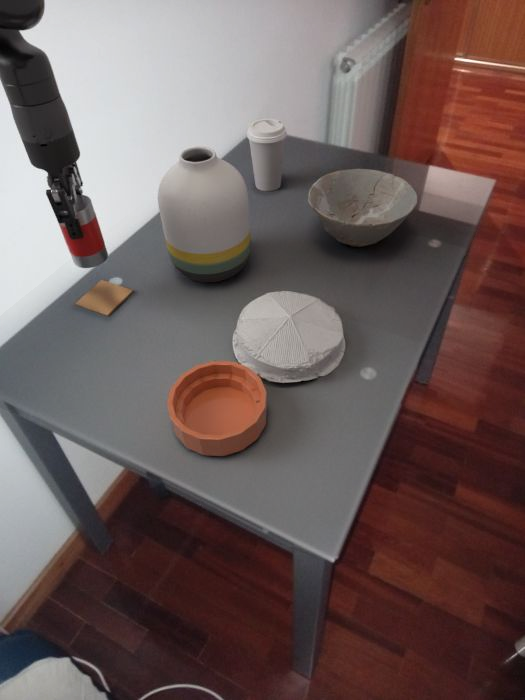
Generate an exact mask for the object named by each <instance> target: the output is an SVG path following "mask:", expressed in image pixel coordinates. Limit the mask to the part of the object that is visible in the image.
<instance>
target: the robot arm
mask: <svg viewBox="0 0 525 700" xmlns="http://www.w3.org/2000/svg"><path fill="white" fill-rule="evenodd" d="M45 9H46V0H0V83H1V85H2V88H3V90H4V93H5V96H6V98H7V101H8V103H9V107H10V110H11V115H12V117H13V118H12V119H13V121H14V124H15V126H16V129H17V131H18V134H19V136H20V137H19V138H20V139H21V141H22V144H23V147H24V150H25V152H26V154H27V157H28V160H29V162H30V164H31V166H33V167H34V168H36V169H39V170H41V171H44V172H46V173H47V176H46V182H47V186H48V187H49V189H46V190H45V195H46V197H47V199H48V202H49V204H50V206H51V209H52V211H53V213H54V216H55V218H56V220H57V223H58V225H59V224H61V223H65V226H66V228H67V231H68V234H69V236H70V238H71V239H82V238H83V236H84V233H83V230H82V228H81V225H80V222H79V219H78V214H77V211H76V206H75V205H76V204H77V202H78V201H77V196H76V195H84V190H83V188H82V187H83V185H84V182H83V180H82V177H81V173H80V170H79V167H78V160H79V159H80V156H81V150H80V147H79V144H78V141H77V138H76V135H75V134H76V133H75V131H74V128H73V125H72V121H71V119H70V116H69V111H68V109H67V106H66V104H65V101H64V100H63V98H62V95H61V92H60V89H59V86H58V82H57V80H56V76H55V73H54V70H53V67H52V63H51V61H50V58H49V57H48V55H47V54H46V52H45V51H44V50H42V49H41V48H39V47H37V46H36V45H33V44H32V43H30V42H29V41H27V40H26V39H25V38H24V36H23V34H22V33H21V31H28V30H32V29H34V28H35V27H37V25H38V24H40V22H41V21H42V19H43V17H44V14H45ZM68 196H71V199H70V200H68V198H67V197H68ZM64 211H67V212H68V213H64Z"/></svg>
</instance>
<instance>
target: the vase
mask: <svg viewBox="0 0 525 700" xmlns="http://www.w3.org/2000/svg"><path fill="white" fill-rule="evenodd" d="M248 192H249V191H248V187H247V185H246V181H245V180H244V177H243V175H242V174H241V173H240V171H239V170H238V169H237V168H236V167H234V166H233V164H231V163H229V162H228V161H226V160H224V159H221V158H220V157H218V155H217V153H216V150H215V149H213V148H211V147H209V146H200V145H199V146H192V147H188V148H186V149H184V150H183V151H181V152H180V154H179V161H177V162H176V163H175V164H173V165H172V166H171V167H170V168H169V169H168V170H167V171H166V172H165V173H164V174H163V176H162V178H161V180H160V183H159V185H158V191H157V203H158V211H159V216H160V220H161V225H162V230H163V236H164V240H165V244H166V249H167V252H168V256H169V259H170V261H171V263H172V265H173V266H174V269H175V270H176V271H178V272H179V274H180V275H182V276H184V277H185V278H187V279H188V280H192V281H195V282H201V283H216V282H221V281H225V280H227V279H230V278H231V277H234V276H235V275H237V274H239V272H241V270H242V269H244V267H245V266H246V264H247V262H248V259H249V257H250V254H251V246H252V245H251V241H252V239H251V220H250V219H251V218H250V201H249V199H250V198H249V193H248Z"/></svg>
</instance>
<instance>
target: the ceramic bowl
mask: <svg viewBox="0 0 525 700" xmlns="http://www.w3.org/2000/svg"><path fill="white" fill-rule="evenodd" d="M307 196H308V197H307V202H308V204H309V206H310V207H311V209H312V210H313V211H314V212H315V214H316V215H317V217H318V218H319V220H320V222H321V224H322V226H323V229H324V231H326V233H328V234H329V235H330V236H331V237H332V238H334V239H335V240H336V241H338V242H340V243H341V244H343V245H349V246H350V247H367V246H369V245H370V246H371V245H374V244H376V243H378V242H379V241H381V240H384V239H385V238H386V237H387V236H389V235H391V234H392V233H393V232H394V231H395V230H396V229H397V228H398V227H399V226H400V225H401V224H402V223H403V222H404V221H405V220H406V219H407V218H408V217H409V216H410V214H411V213H412V212H413V211H414V209H415V208H416V205H417V204H418V195H417V192H416V191H415V189H414V188H413V186H412V184H410V183H408V181H406V180H405V179H403V178H401V177H400V176H395V174H393V173H389V172H385V171H382V170H376V169H367V168H351V169H340V170H337V171H333V172H330V173H326V174H325V175H323V176H321V177H320V178H318V179H317V181H315V182H314V183H313V184H312V186H311V187H310V188H309V191H308V195H307Z"/></svg>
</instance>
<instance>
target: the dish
mask: <svg viewBox="0 0 525 700" xmlns="http://www.w3.org/2000/svg"><path fill="white" fill-rule="evenodd" d="M267 395H268V393H267V389H266V387H265V384H264V382H263V379H262V377H260V376H259V374H258V375H257V374H256V373H254V372H253V371H252V370H251V369H250V368H249V367H247V366H244V365H241V363H239V362H236V361H233V360H232V361H231V360H230V361H229V360H212V361H208V362H205V363H201V364H197V365H195V366H193V367H192V368H190V369H188V370H187V371H185V372H184V373H182V374H181V375H180V376H179V377H178V379H177V380H176V381H175V382H174V384H173V385H172V386H171V388H170V390H169V394H168V398H167V401H166V402H167V403H166V405H167V409H168V413H169V417H170V422H171V424H172V428H173V431H174V435H175V437H176V438H177V439H178V441H180V442H181V443H182V444H183V446H184V447H185V448H186V449H188V450H191V451H193V452H195V453H197V454H200V455H201V456H214V457H225V456H228V455H233V454H234V453H238V452H242V451H243V450H245V449H246V448H247V447H248V446H250V445H252V444H253V443H254V442H256V440H258V439H259V437H260V436H261V433H262V432H263V430H264V428H265V426H266V425H267V419H268V417H267V416H268V396H267Z"/></svg>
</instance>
